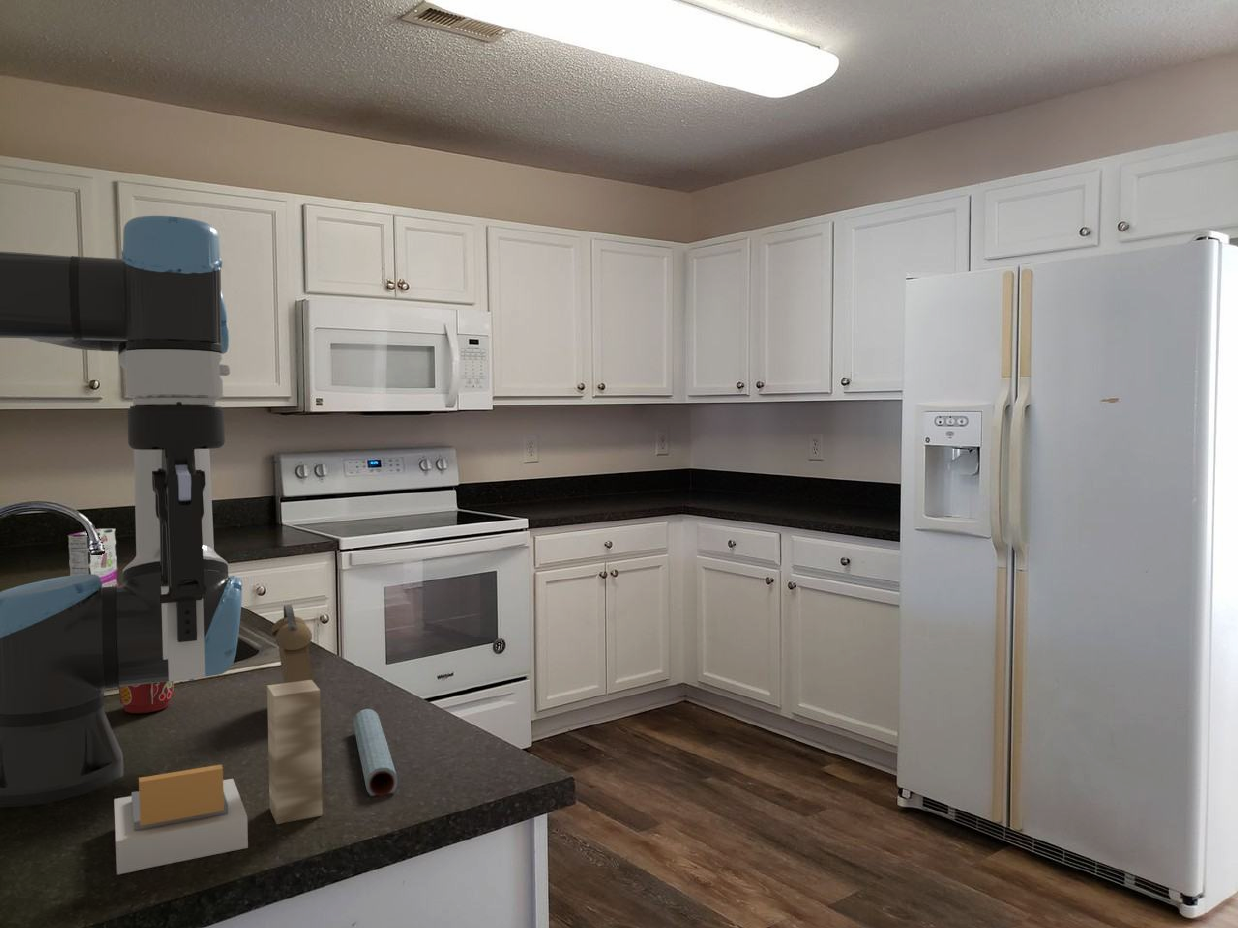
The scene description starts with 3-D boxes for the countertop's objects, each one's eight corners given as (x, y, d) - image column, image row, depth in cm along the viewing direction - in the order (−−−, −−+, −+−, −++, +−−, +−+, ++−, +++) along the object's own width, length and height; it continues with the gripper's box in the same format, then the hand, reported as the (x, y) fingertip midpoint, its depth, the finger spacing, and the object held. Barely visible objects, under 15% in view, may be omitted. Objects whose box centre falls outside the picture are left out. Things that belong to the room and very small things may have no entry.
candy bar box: (97, 599, 219) (95, 528, 218) (119, 599, 219) (117, 528, 218) (69, 608, 208) (66, 534, 207) (91, 608, 208) (89, 533, 207)
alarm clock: (318, 719, 129) (315, 610, 128) (279, 724, 127) (277, 613, 126) (307, 698, 139) (305, 596, 138) (271, 702, 137) (269, 599, 136)
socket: (116, 874, 85) (115, 841, 85) (115, 828, 95) (114, 798, 94) (247, 847, 90) (247, 816, 90) (233, 806, 100) (233, 778, 100)
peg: (276, 824, 95) (273, 696, 95) (269, 808, 99) (266, 685, 99) (322, 814, 98) (320, 690, 97) (314, 799, 102) (311, 679, 101)
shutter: (134, 835, 86) (133, 783, 86) (131, 800, 94) (130, 752, 94) (229, 817, 90) (228, 767, 89) (219, 784, 98) (218, 738, 97)
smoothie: (189, 707, 135) (185, 567, 134) (127, 720, 129) (122, 574, 128) (165, 695, 141) (161, 561, 140) (104, 708, 135) (100, 568, 134)
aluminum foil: (353, 735, 124) (352, 709, 124) (405, 729, 126) (404, 704, 126) (366, 801, 102) (365, 769, 102) (428, 792, 105) (428, 762, 104)
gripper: (238, 400, 74) (245, 690, 75) (211, 405, 92) (217, 638, 93) (130, 400, 71) (139, 703, 72) (124, 405, 88) (131, 647, 89)
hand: (183, 666), depth 82 cm, fingers open, 8 cm apart
